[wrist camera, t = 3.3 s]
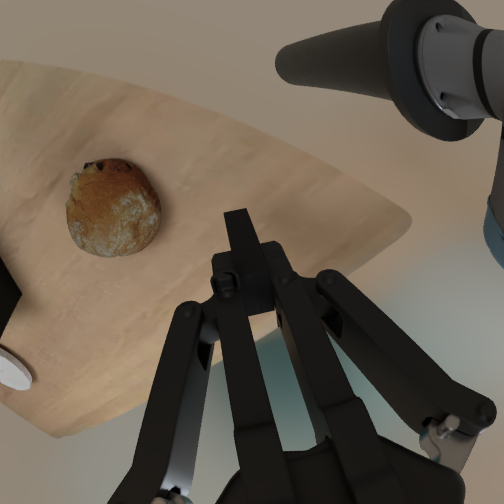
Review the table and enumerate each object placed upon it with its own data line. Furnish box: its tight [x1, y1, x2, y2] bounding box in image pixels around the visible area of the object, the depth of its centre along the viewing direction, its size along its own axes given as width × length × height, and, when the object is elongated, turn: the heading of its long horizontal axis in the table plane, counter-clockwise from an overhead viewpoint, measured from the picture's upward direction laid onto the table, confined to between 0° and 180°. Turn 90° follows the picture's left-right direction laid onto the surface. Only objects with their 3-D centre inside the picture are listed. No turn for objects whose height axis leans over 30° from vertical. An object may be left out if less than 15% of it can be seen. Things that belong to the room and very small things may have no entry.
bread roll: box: [66, 159, 161, 258], centre depth 26 cm, size 10×10×8 cm
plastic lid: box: [0, 348, 32, 390], centre depth 37 cm, size 14×14×2 cm
